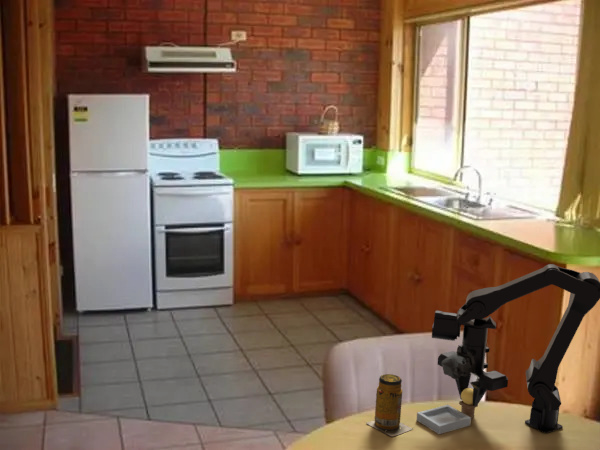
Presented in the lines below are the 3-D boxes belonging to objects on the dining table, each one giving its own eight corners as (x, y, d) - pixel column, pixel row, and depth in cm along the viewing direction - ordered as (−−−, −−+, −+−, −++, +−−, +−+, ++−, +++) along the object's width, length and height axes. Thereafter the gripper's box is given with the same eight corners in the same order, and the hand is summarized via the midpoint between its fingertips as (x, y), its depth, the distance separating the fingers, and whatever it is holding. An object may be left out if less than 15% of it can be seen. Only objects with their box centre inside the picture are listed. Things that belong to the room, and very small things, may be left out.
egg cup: (467, 410, 186) (468, 398, 186) (476, 416, 184) (478, 403, 183) (458, 413, 185) (459, 401, 184) (467, 418, 182) (468, 406, 181)
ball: (468, 399, 186) (470, 384, 186) (480, 405, 183) (481, 390, 182) (456, 402, 184) (458, 387, 184) (468, 408, 181) (469, 393, 180)
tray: (447, 411, 185) (447, 404, 185) (470, 425, 179) (470, 417, 178) (416, 420, 180) (417, 412, 180) (439, 434, 173) (439, 426, 173)
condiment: (387, 416, 182) (390, 370, 179) (413, 429, 175) (416, 381, 173) (365, 423, 177) (368, 376, 175) (391, 437, 171) (395, 389, 168)
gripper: (423, 335, 184) (418, 394, 187) (478, 361, 169) (472, 425, 172) (456, 329, 190) (451, 386, 193) (512, 353, 174) (505, 415, 178)
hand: (468, 402), depth 184 cm, fingers closed on ball, 4 cm apart
